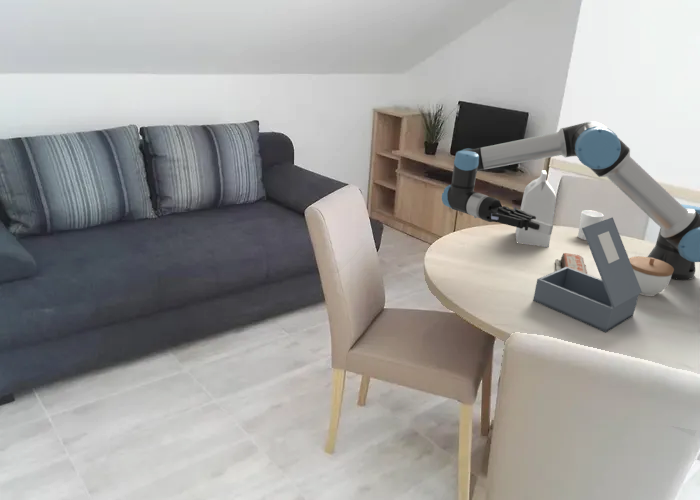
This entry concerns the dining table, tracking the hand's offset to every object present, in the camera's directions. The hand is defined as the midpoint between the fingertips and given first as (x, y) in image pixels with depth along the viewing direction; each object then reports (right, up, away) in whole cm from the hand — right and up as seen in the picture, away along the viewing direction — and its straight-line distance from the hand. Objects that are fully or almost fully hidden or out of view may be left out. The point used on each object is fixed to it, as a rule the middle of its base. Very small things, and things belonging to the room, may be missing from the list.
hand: (550, 230), depth 165 cm
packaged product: (+14, -14, +21) cm, 29 cm away
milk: (+10, -2, +49) cm, 51 cm away
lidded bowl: (+33, -19, +12) cm, 40 cm away
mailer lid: (+12, -9, -11) cm, 19 cm away
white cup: (+33, -1, +55) cm, 64 cm away
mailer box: (+8, -22, -2) cm, 24 cm away
